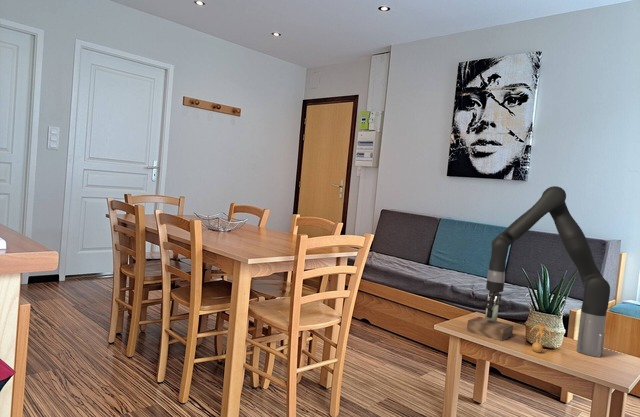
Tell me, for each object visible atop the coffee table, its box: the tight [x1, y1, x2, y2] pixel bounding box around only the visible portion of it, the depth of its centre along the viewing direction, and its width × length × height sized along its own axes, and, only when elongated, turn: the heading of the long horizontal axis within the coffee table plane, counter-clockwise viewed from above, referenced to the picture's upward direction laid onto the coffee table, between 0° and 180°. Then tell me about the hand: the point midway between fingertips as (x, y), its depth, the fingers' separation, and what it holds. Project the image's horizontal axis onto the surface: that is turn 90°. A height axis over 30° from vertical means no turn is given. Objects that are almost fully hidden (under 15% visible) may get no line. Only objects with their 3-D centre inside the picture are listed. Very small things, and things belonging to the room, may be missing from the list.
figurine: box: [529, 322, 552, 353], centre depth 187 cm, size 8×6×12 cm
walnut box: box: [466, 316, 514, 342], centre depth 208 cm, size 16×14×5 cm
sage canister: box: [484, 304, 500, 321], centre depth 208 cm, size 5×5×7 cm
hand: (491, 316), depth 208 cm, fingers closed on sage canister, 5 cm apart
